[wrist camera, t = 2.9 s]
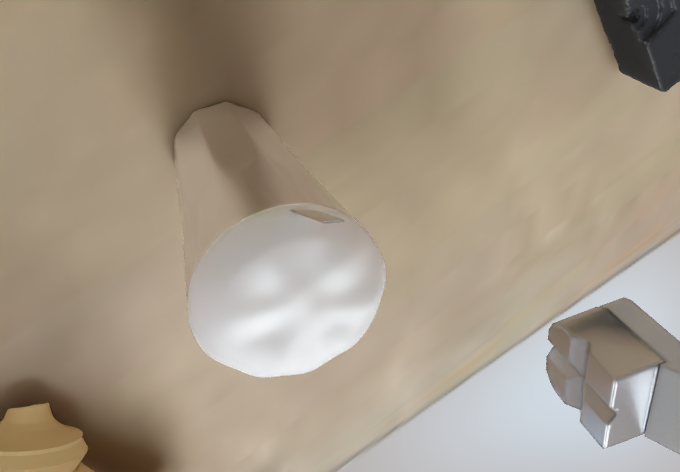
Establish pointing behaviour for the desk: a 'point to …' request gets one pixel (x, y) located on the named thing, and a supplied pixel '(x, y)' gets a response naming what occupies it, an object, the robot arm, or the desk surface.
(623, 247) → the desk surface
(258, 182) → the milkshake
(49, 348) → the desk surface
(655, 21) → the disk drive
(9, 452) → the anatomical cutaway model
